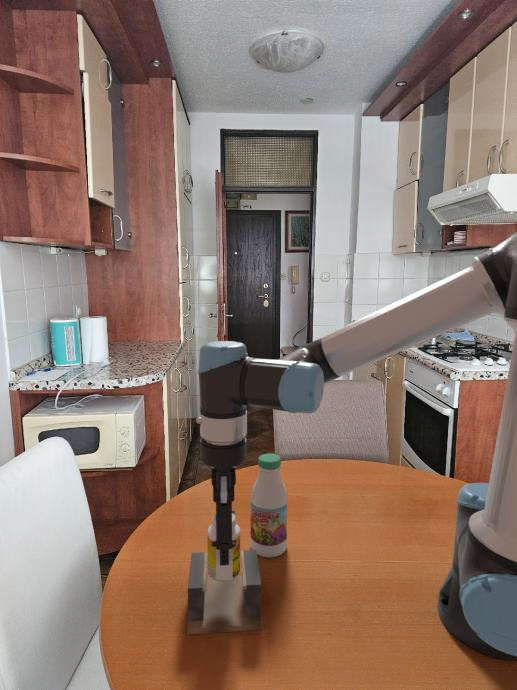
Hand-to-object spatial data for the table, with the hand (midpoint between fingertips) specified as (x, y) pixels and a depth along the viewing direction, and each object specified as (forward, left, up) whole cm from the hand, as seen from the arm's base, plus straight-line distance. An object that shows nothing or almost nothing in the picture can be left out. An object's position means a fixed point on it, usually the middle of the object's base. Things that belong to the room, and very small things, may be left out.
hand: (224, 565), depth 74 cm
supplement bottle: (0, 0, -2) cm, 2 cm away
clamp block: (0, 0, -7) cm, 7 cm away
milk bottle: (+8, -16, -8) cm, 19 cm away
